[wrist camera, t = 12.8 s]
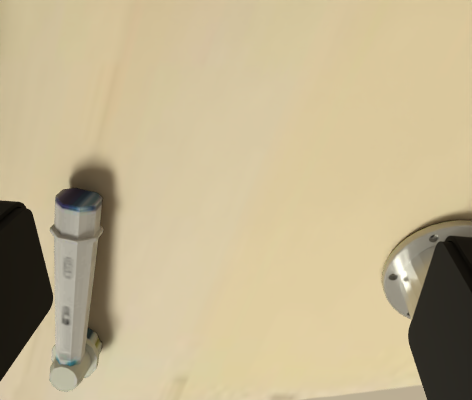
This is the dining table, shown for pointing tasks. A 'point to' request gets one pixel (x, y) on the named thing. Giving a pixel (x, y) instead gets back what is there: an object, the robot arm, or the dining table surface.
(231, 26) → the dining table surface
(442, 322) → the robot arm
